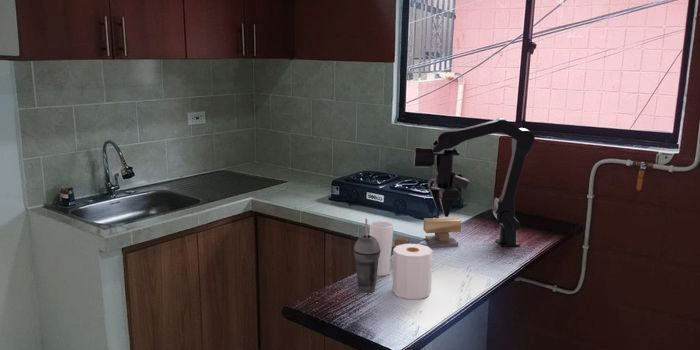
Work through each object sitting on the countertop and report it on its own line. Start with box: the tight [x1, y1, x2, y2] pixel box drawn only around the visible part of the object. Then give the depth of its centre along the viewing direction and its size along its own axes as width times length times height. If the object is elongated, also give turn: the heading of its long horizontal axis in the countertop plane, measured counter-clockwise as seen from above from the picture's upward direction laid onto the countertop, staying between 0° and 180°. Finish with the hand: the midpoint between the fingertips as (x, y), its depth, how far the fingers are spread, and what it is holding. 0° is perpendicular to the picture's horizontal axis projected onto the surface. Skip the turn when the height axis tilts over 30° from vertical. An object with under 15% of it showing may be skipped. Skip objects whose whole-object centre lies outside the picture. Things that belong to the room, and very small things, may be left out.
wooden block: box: [393, 235, 410, 249], centre depth 176 cm, size 4×4×8 cm
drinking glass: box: [368, 220, 394, 277], centre depth 167 cm, size 7×7×15 cm
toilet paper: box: [391, 243, 433, 300], centre depth 154 cm, size 10×10×12 cm
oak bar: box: [422, 217, 462, 234], centre depth 196 cm, size 4×12×4 cm, turn 98°
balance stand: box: [424, 233, 459, 248], centre depth 196 cm, size 9×9×4 cm
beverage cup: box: [353, 218, 381, 295], centre depth 154 cm, size 7×7×20 cm
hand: (442, 213), depth 195 cm, fingers open, 9 cm apart
